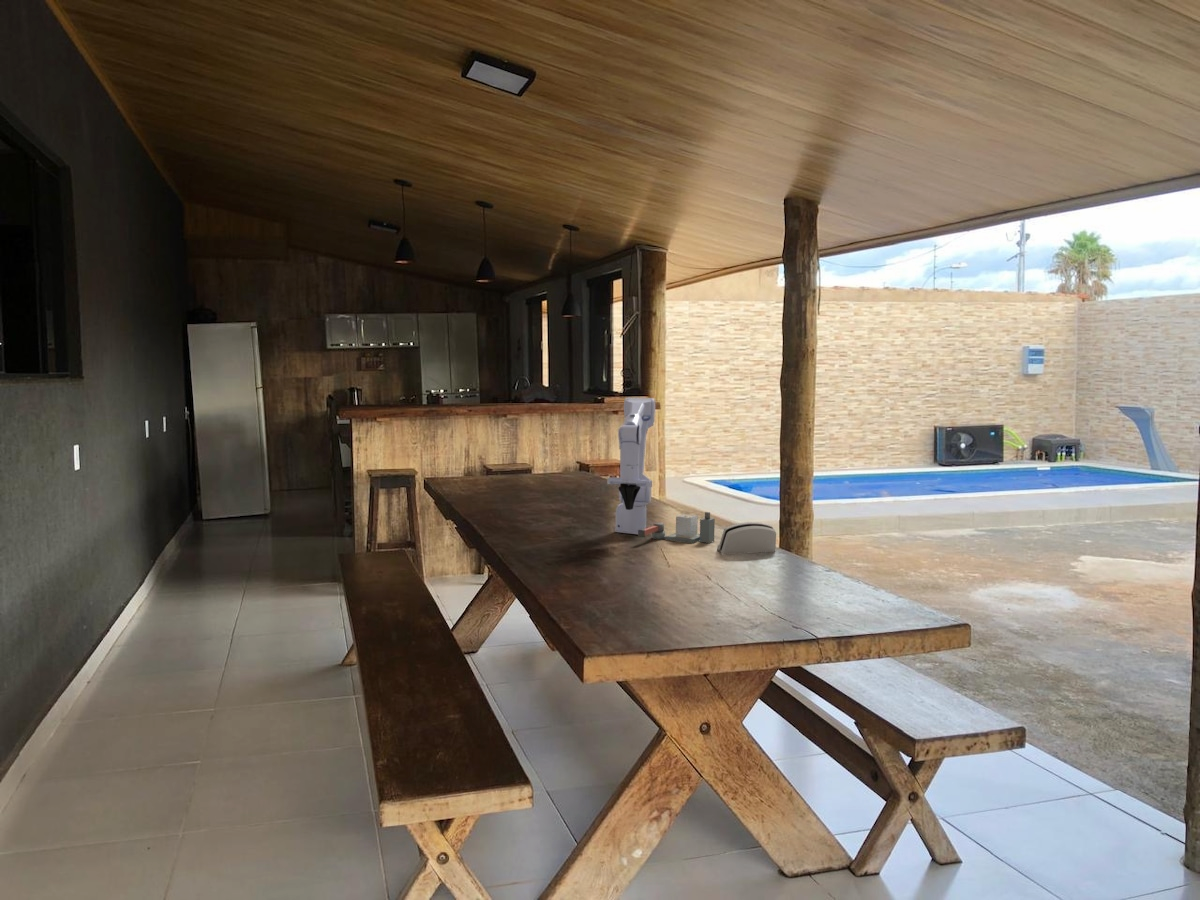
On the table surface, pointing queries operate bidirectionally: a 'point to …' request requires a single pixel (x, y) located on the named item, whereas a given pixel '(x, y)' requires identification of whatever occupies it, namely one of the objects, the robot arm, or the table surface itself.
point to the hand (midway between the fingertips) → (629, 509)
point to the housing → (686, 525)
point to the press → (704, 536)
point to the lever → (651, 529)
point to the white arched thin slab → (747, 538)
